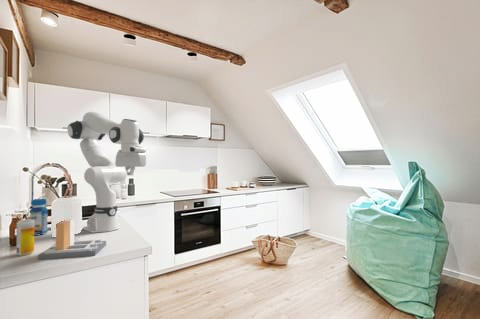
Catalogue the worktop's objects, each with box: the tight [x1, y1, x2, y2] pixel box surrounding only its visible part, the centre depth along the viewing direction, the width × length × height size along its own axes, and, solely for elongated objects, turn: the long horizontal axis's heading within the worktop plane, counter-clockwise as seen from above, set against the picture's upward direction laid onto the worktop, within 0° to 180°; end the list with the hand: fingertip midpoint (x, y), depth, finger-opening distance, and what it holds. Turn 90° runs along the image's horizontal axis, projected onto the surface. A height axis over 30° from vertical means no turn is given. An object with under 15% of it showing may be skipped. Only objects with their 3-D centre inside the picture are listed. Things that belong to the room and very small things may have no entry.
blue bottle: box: [28, 198, 49, 236], centre depth 146 cm, size 8×8×20 cm
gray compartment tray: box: [37, 218, 107, 260], centre depth 116 cm, size 22×15×14 cm
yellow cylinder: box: [16, 218, 35, 257], centre depth 114 cm, size 6×6×15 cm
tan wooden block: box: [55, 221, 69, 250], centre depth 113 cm, size 3×5×12 cm, turn 12°
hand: (130, 175), depth 135 cm, fingers closed
